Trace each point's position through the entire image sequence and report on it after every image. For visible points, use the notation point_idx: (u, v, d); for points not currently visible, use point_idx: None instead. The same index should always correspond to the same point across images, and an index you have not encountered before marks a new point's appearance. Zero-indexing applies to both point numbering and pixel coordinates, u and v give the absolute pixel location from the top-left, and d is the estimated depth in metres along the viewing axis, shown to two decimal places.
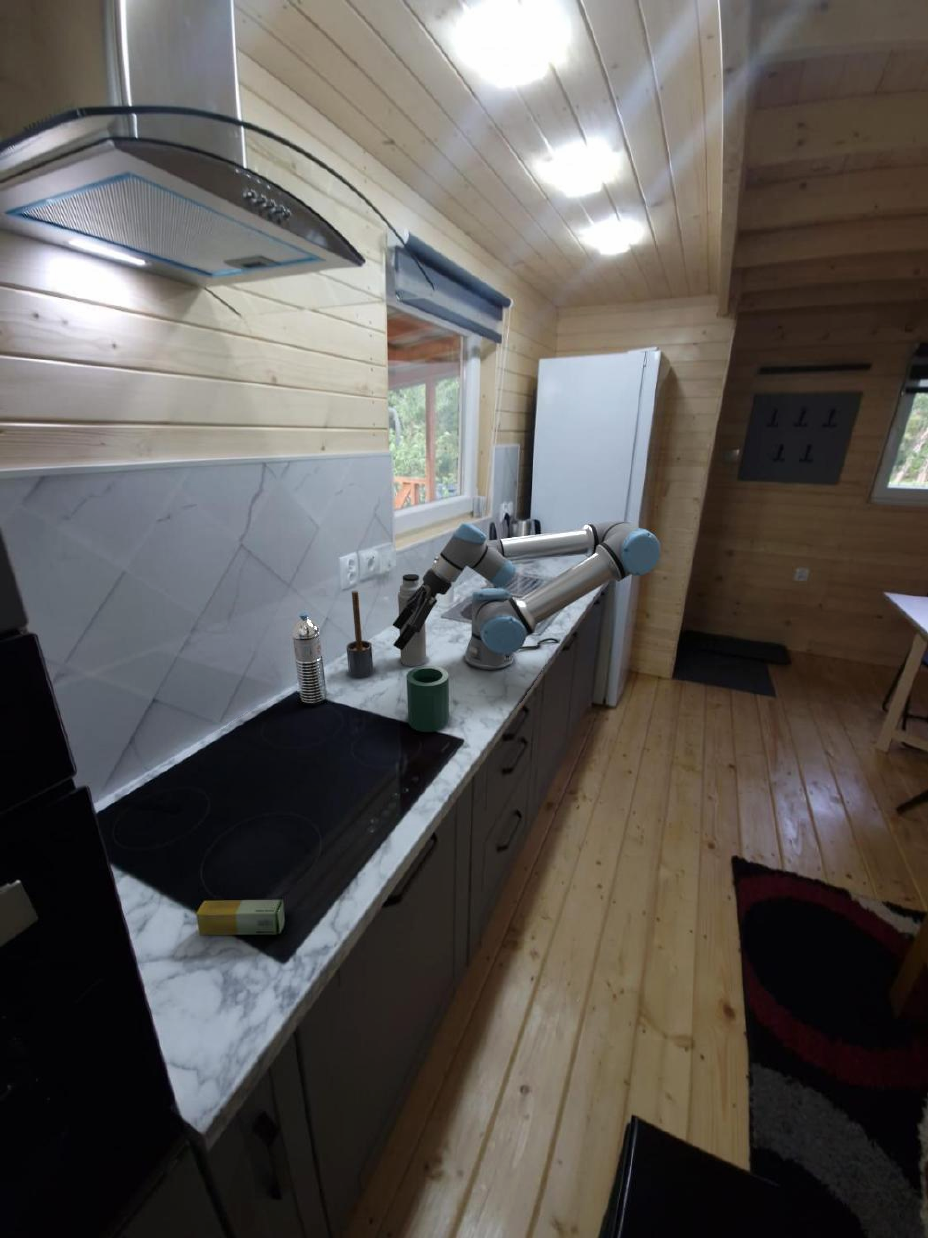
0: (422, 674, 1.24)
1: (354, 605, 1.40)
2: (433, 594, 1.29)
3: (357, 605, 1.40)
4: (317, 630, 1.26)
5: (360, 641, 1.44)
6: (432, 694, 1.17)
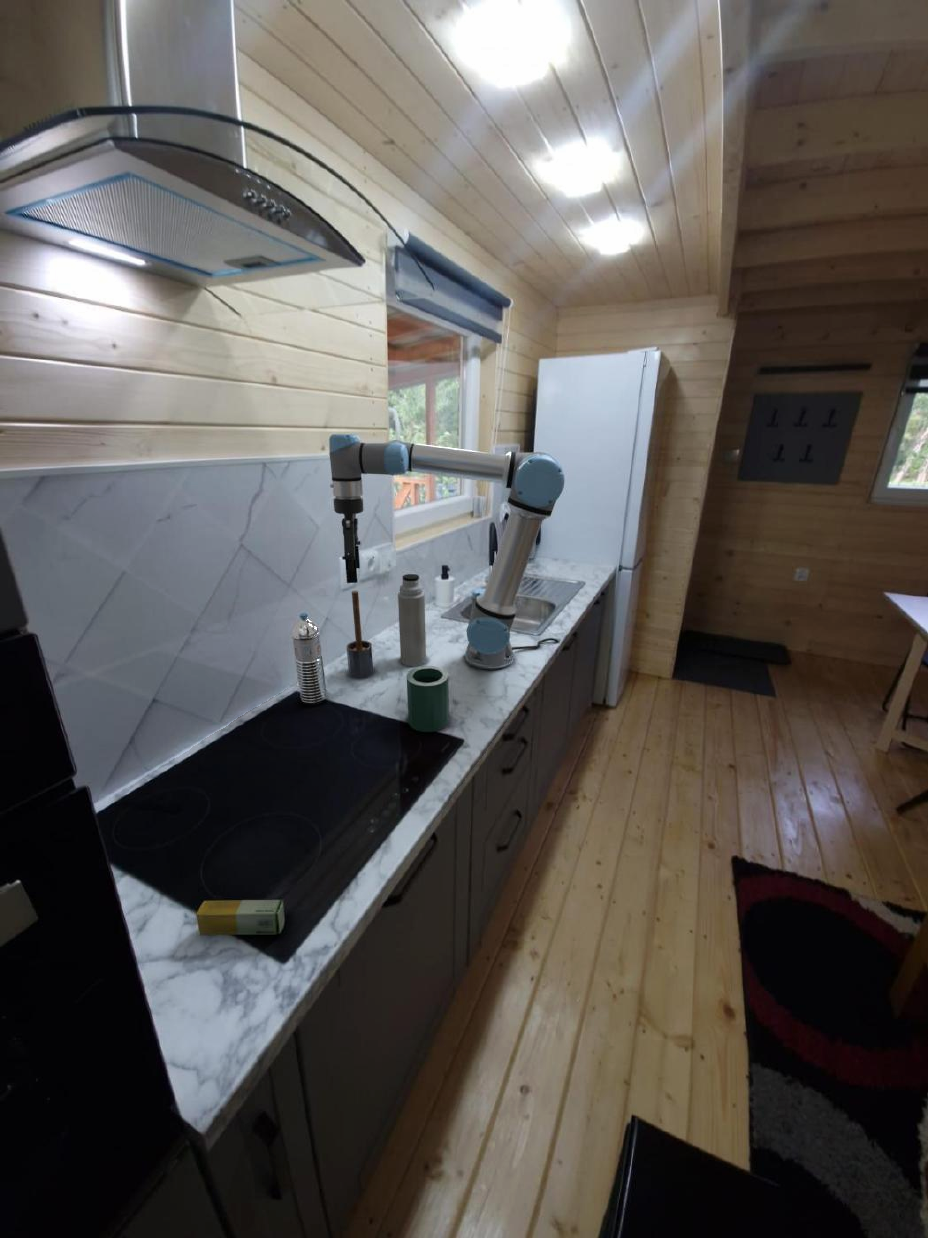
0: (422, 674, 1.24)
1: (354, 605, 1.40)
2: (349, 517, 1.27)
3: (357, 605, 1.40)
4: (317, 630, 1.26)
5: (360, 641, 1.44)
6: (432, 694, 1.17)
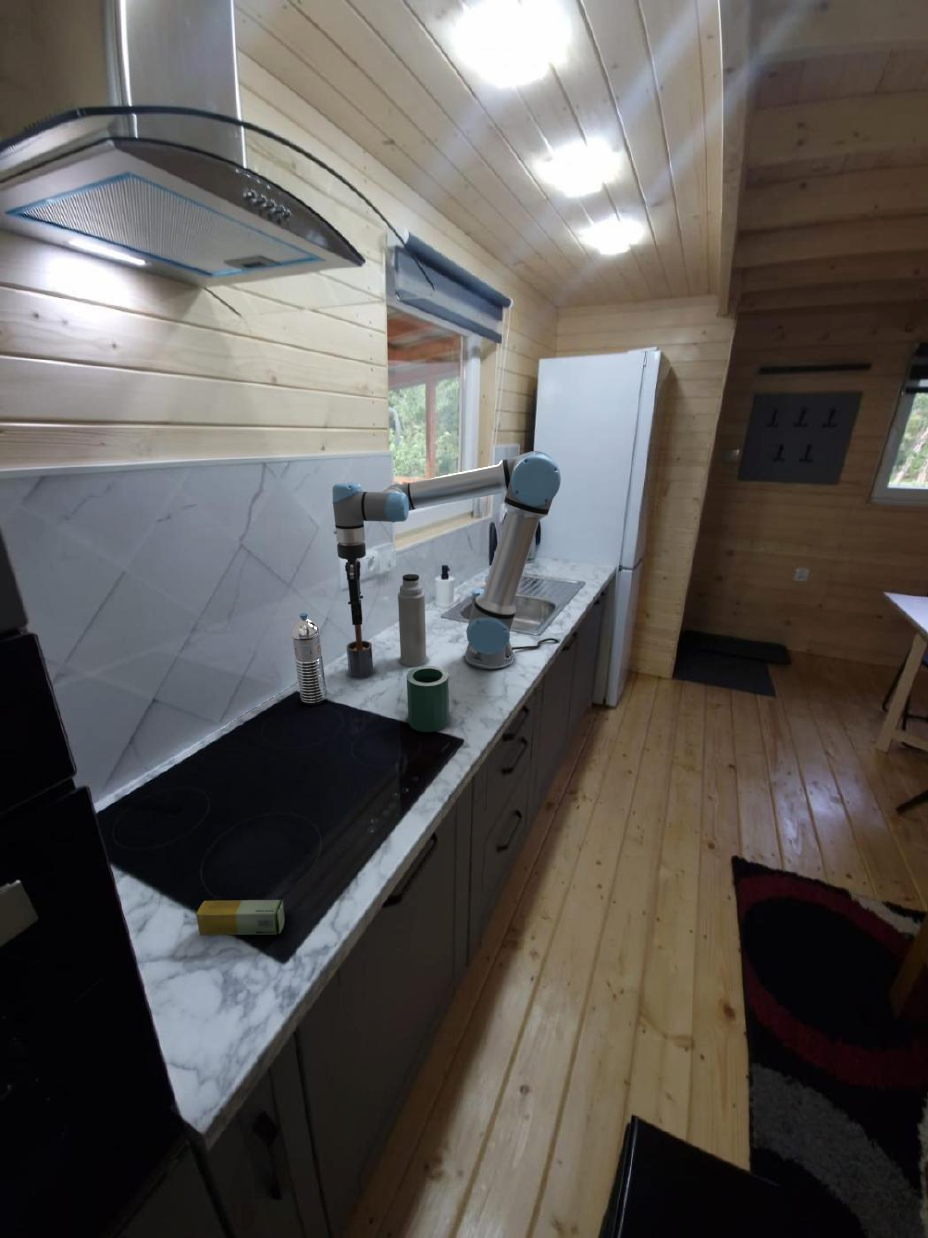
0: (422, 674, 1.24)
1: None
2: (352, 562, 1.32)
3: None
4: (317, 630, 1.26)
5: (360, 641, 1.44)
6: (432, 694, 1.17)
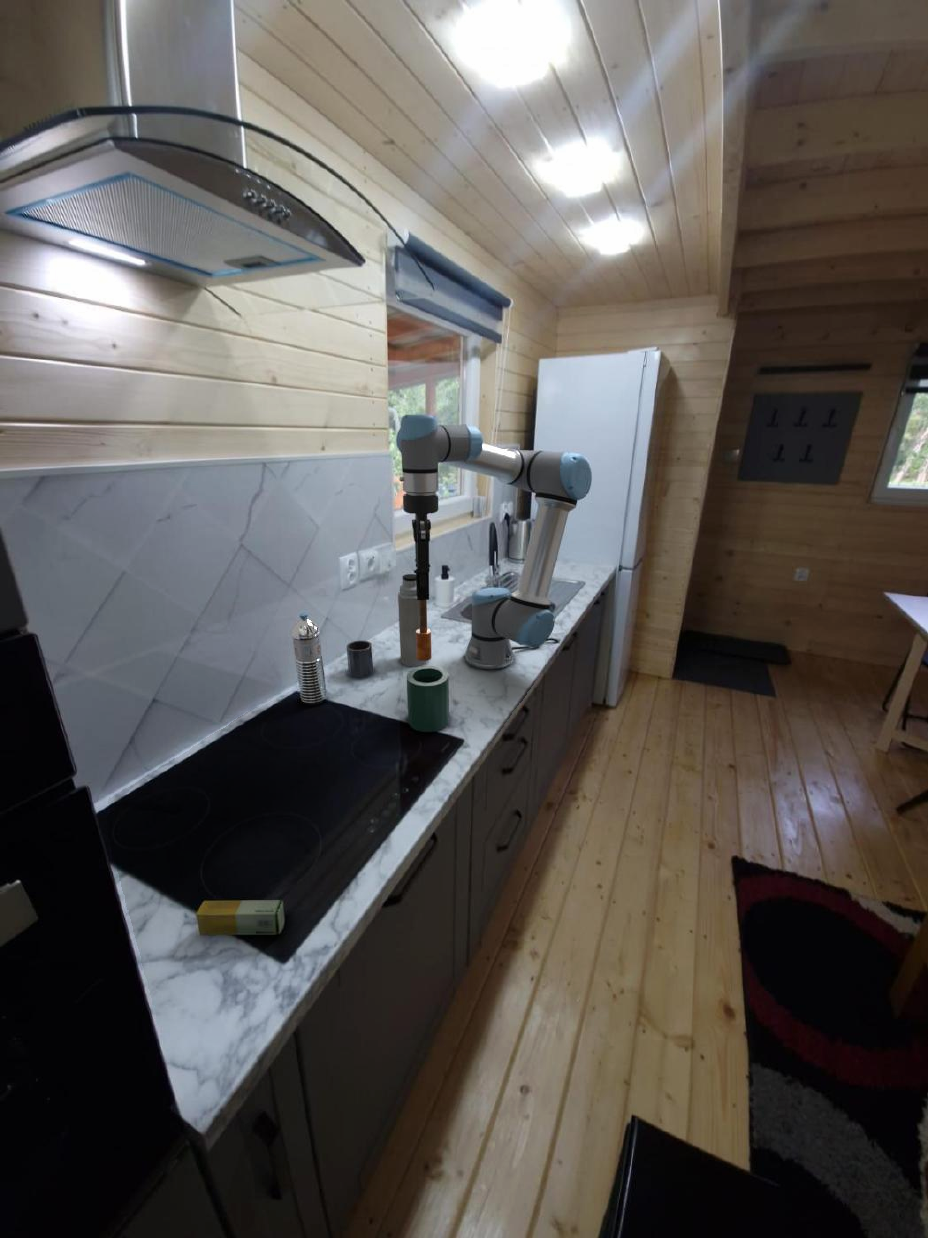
0: (422, 674, 1.24)
1: None
2: (423, 518, 1.03)
3: None
4: (317, 630, 1.26)
5: (425, 621, 1.15)
6: (432, 694, 1.17)
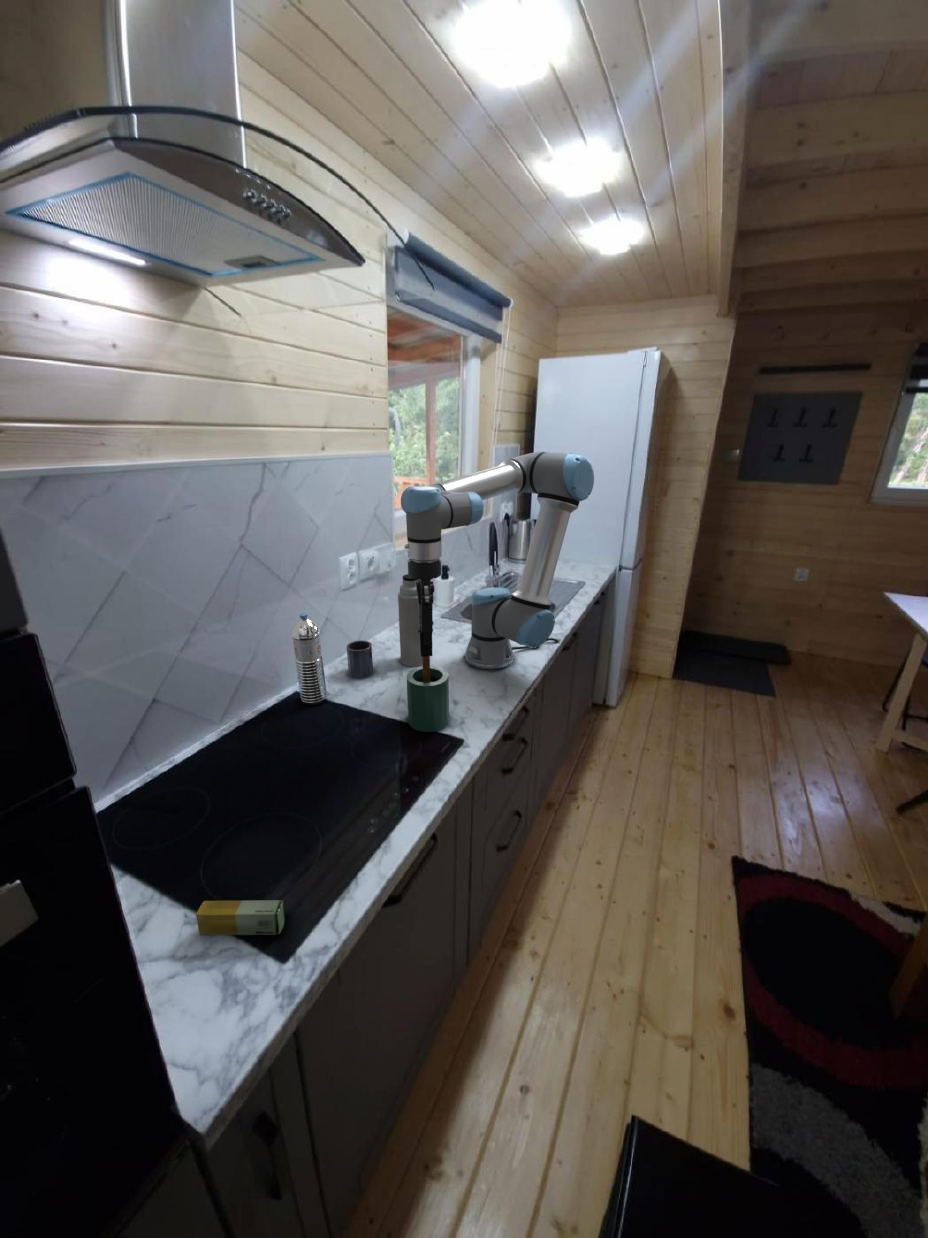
0: (422, 674, 1.24)
1: None
2: (427, 583, 1.09)
3: None
4: (317, 630, 1.26)
5: (428, 675, 1.21)
6: (432, 694, 1.17)
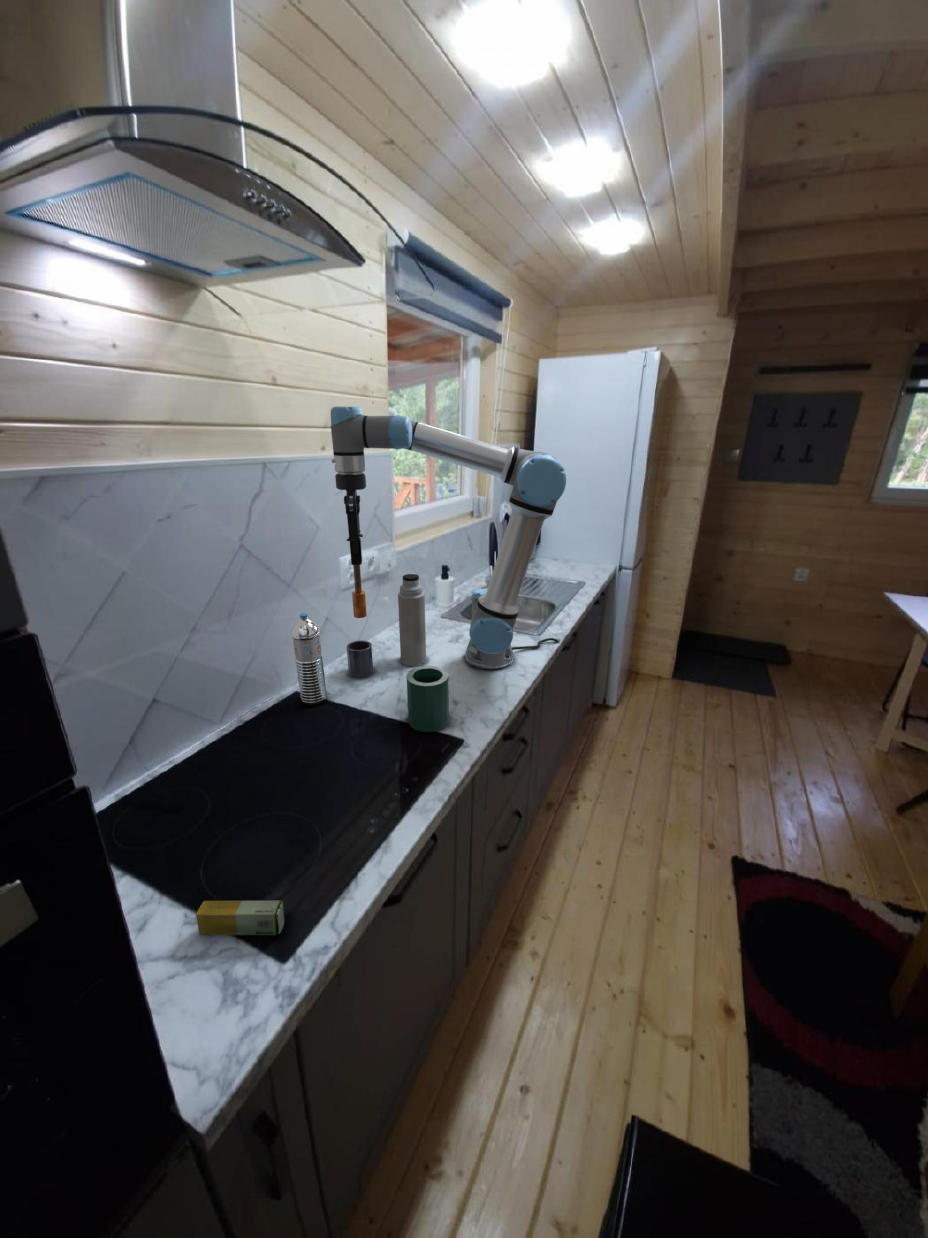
0: (422, 674, 1.24)
1: None
2: (351, 493, 1.23)
3: None
4: (317, 630, 1.26)
5: (359, 583, 1.35)
6: (432, 694, 1.17)
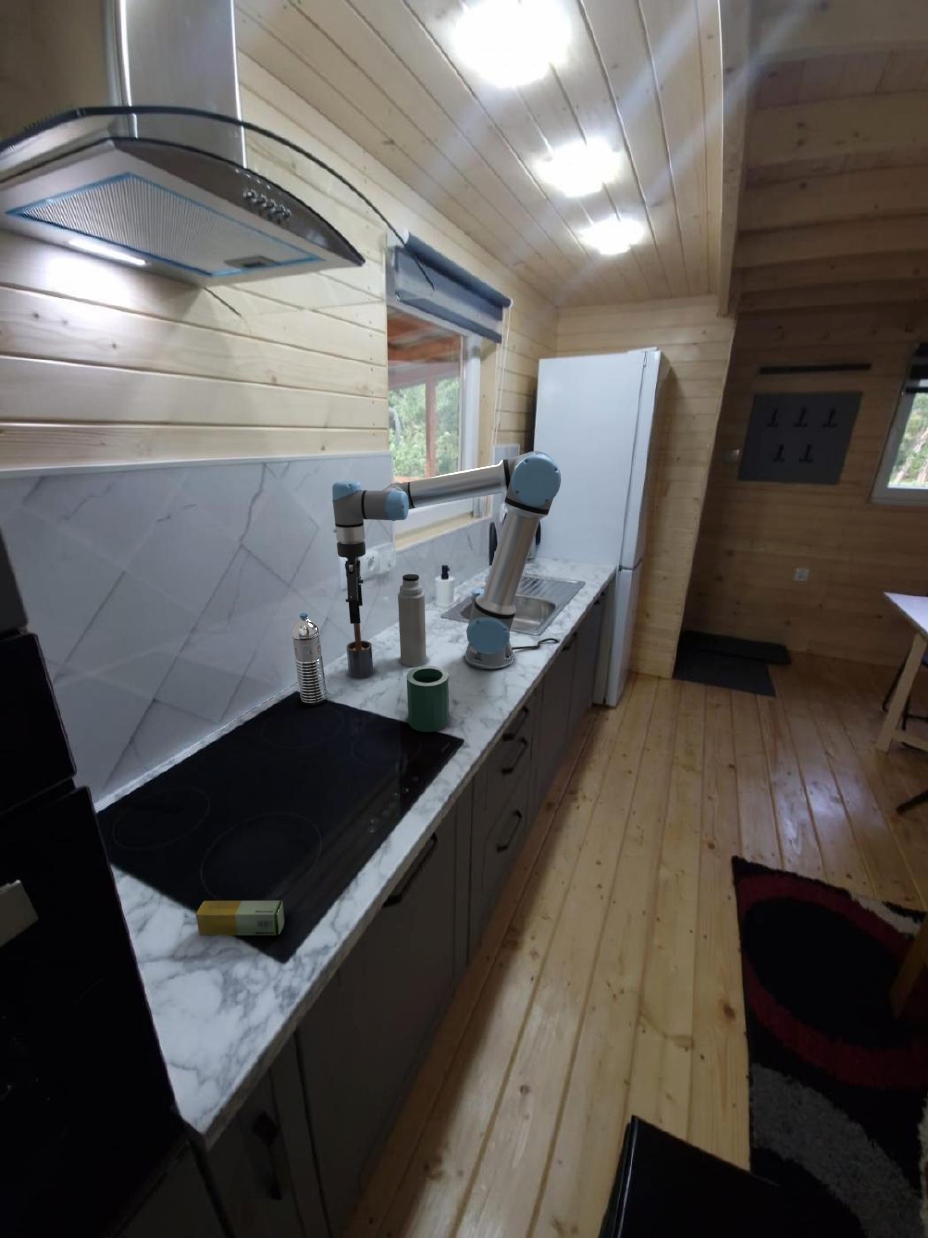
0: (422, 674, 1.24)
1: None
2: (352, 561, 1.32)
3: None
4: (317, 630, 1.26)
5: (359, 641, 1.44)
6: (432, 694, 1.17)
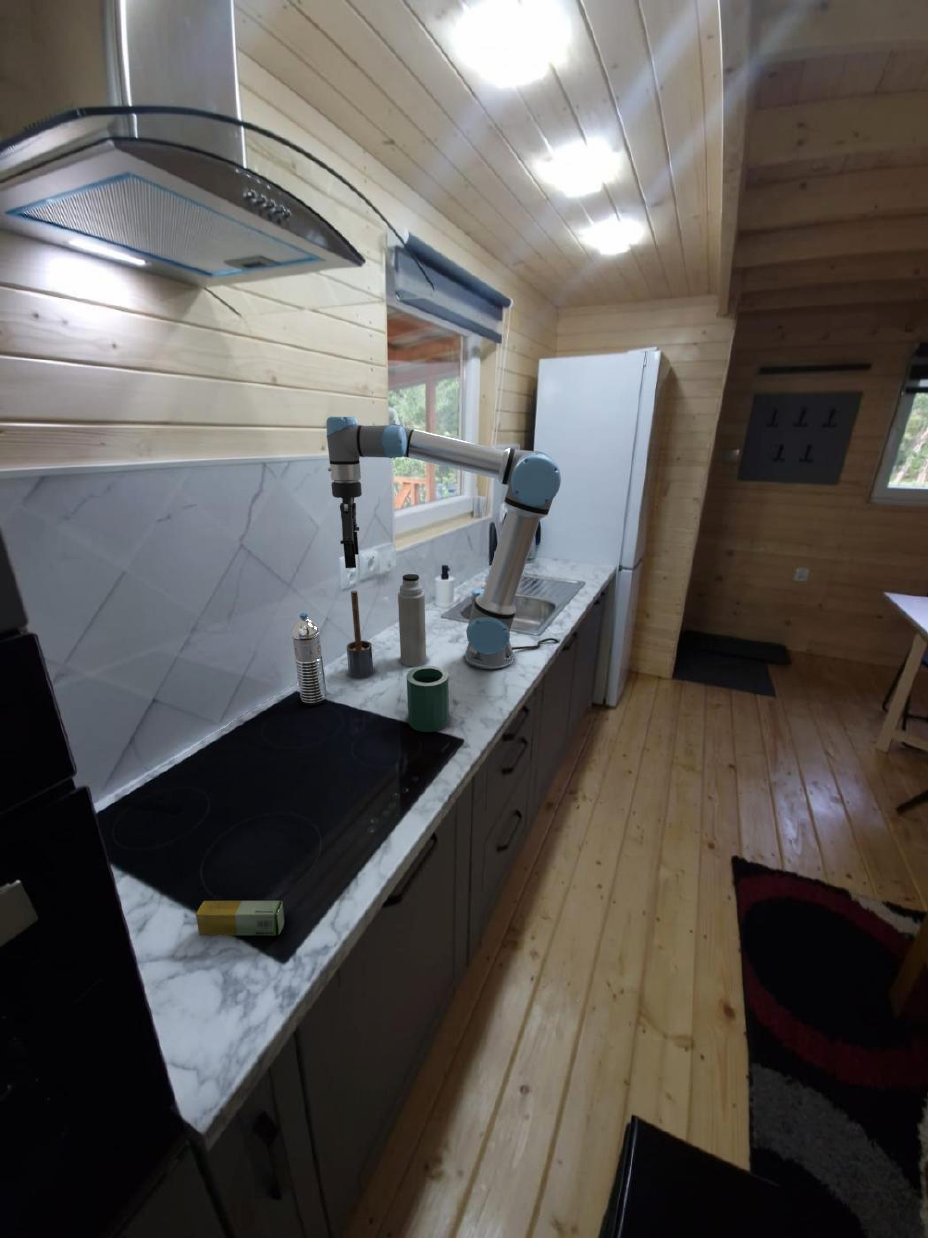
0: (422, 674, 1.24)
1: (353, 605, 1.40)
2: (347, 501, 1.26)
3: (356, 605, 1.40)
4: (317, 630, 1.26)
5: (359, 641, 1.44)
6: (432, 694, 1.17)
